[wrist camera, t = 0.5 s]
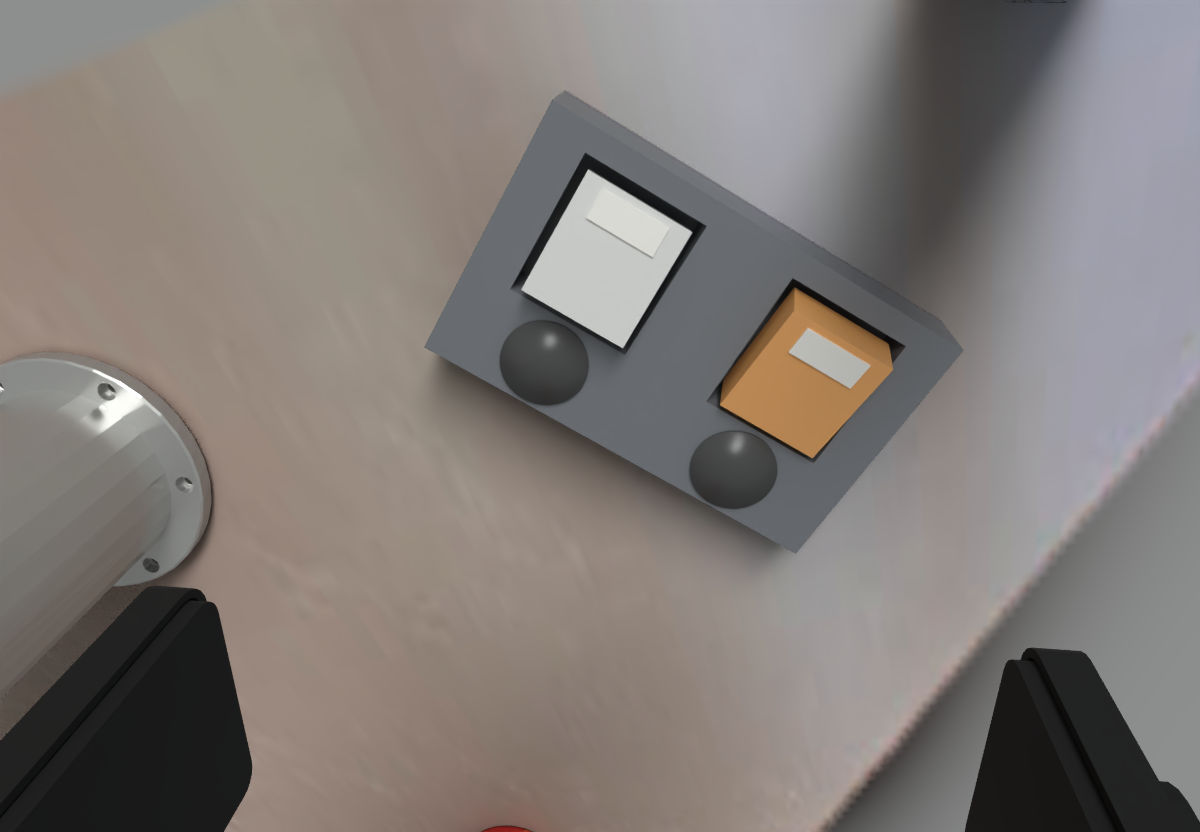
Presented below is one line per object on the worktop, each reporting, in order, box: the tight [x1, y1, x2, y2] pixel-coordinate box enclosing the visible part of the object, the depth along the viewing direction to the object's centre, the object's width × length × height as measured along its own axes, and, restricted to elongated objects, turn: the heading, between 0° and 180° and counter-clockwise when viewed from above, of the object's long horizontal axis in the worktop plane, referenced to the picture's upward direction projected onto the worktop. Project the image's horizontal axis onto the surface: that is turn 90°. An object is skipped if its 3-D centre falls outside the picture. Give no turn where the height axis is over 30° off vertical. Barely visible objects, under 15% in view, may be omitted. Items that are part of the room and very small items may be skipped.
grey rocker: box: [521, 169, 692, 348], centre depth 34 cm, size 5×4×2 cm
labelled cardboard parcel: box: [720, 287, 893, 458], centre depth 35 cm, size 5×4×2 cm
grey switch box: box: [425, 91, 963, 554], centre depth 37 cm, size 11×18×4 cm, turn 60°
